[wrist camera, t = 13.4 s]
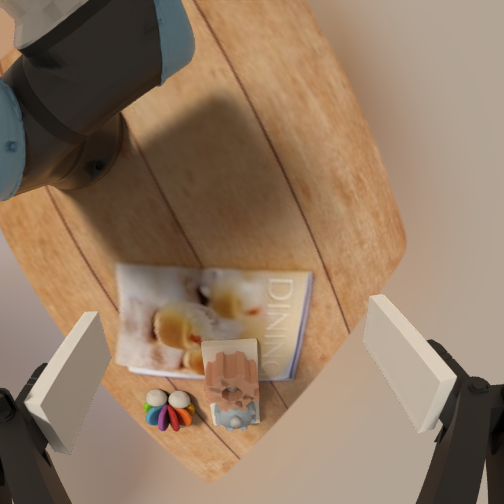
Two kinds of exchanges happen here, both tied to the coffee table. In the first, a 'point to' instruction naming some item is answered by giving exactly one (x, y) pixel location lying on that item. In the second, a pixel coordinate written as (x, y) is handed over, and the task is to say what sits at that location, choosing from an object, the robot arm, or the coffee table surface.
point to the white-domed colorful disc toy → (168, 409)
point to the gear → (231, 381)
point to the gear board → (230, 351)
